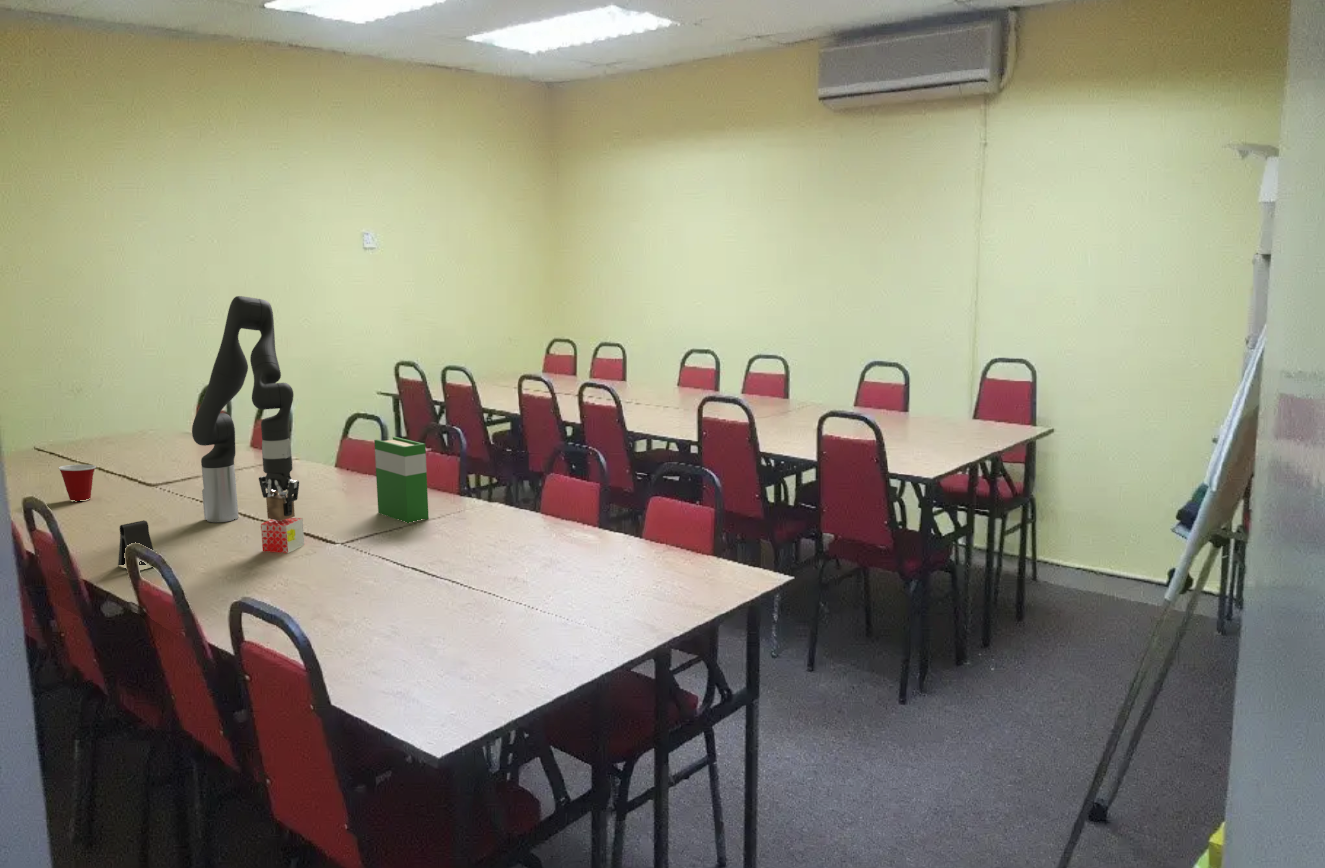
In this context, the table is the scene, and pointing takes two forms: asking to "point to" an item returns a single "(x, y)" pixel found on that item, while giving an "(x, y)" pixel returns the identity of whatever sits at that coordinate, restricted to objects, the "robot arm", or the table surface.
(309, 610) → the table surface
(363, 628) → the table surface
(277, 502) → the walnut block
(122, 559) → the black tent stand
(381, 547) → the table surface
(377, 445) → the hardback book
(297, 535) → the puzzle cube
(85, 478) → the plastic cup
